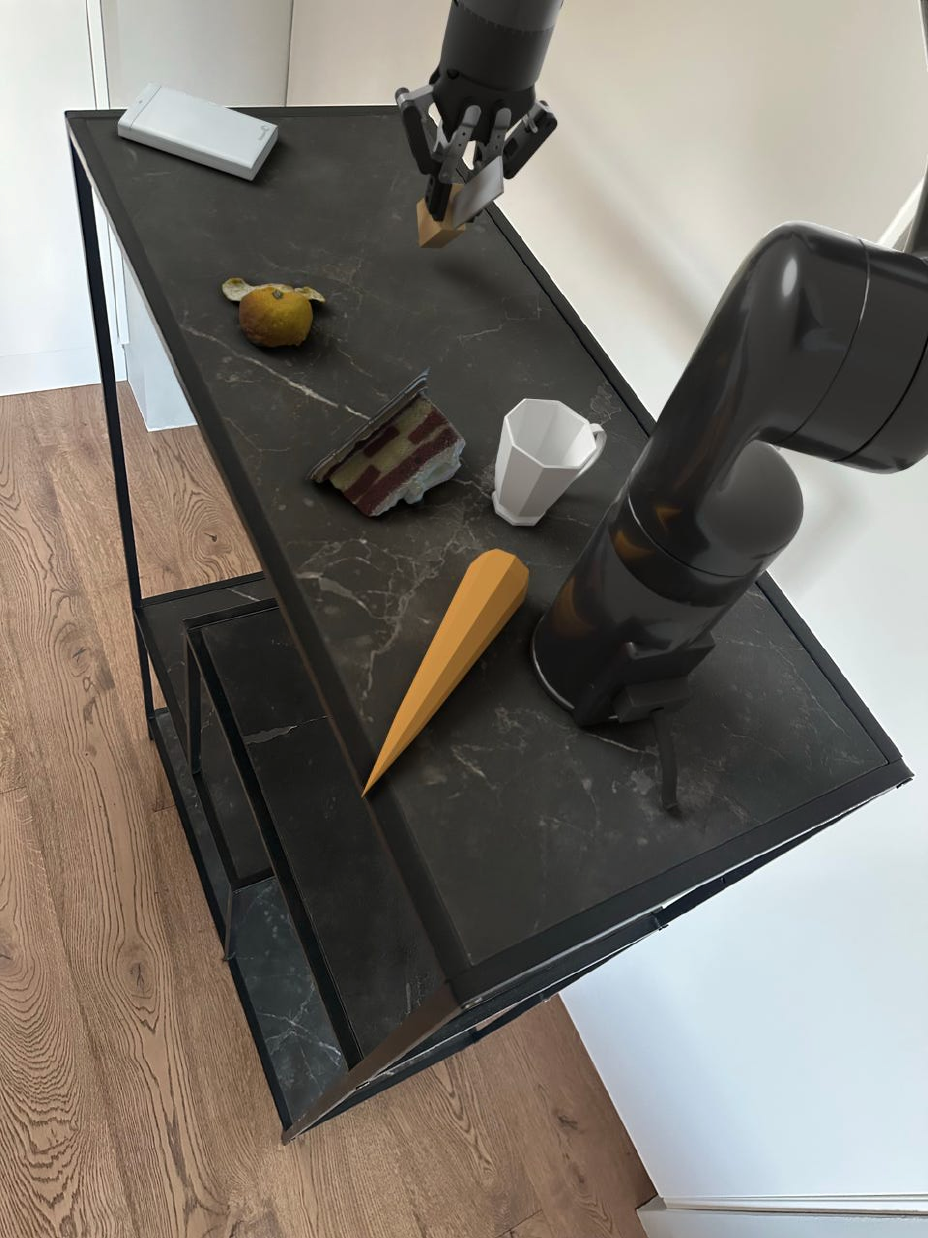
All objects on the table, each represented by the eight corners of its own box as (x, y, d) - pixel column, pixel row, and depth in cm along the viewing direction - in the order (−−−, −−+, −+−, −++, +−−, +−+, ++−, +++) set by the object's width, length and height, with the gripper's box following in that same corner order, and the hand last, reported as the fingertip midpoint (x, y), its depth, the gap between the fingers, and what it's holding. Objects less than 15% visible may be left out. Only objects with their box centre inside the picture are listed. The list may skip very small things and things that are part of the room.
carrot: (526, 541, 61) (547, 587, 64) (472, 536, 63) (494, 581, 66) (372, 786, 51) (405, 827, 54) (316, 768, 53) (350, 809, 56)
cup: (457, 484, 70) (485, 408, 63) (556, 451, 74) (592, 378, 68) (506, 552, 67) (540, 481, 61) (606, 514, 72) (647, 444, 65)
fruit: (321, 291, 77) (326, 255, 75) (328, 359, 73) (334, 323, 70) (221, 281, 75) (222, 242, 72) (222, 350, 71) (224, 312, 68)
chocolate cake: (365, 553, 64) (490, 438, 62) (298, 478, 64) (421, 359, 61) (390, 539, 74) (500, 438, 71) (331, 474, 73) (440, 370, 71)
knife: (419, 247, 82) (416, 203, 82) (441, 248, 83) (438, 205, 82) (489, 191, 67) (485, 137, 67) (515, 193, 68) (512, 139, 68)
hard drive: (278, 123, 87) (151, 77, 85) (252, 167, 82) (116, 119, 81) (277, 140, 88) (151, 95, 87) (251, 183, 83) (117, 137, 82)
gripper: (576, -18, 68) (509, 193, 82) (400, -44, 63) (362, 185, 77) (612, 37, 64) (536, 247, 78) (429, 13, 59) (383, 242, 73)
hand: (450, 215), depth 77 cm, fingers closed on knife, 2 cm apart
